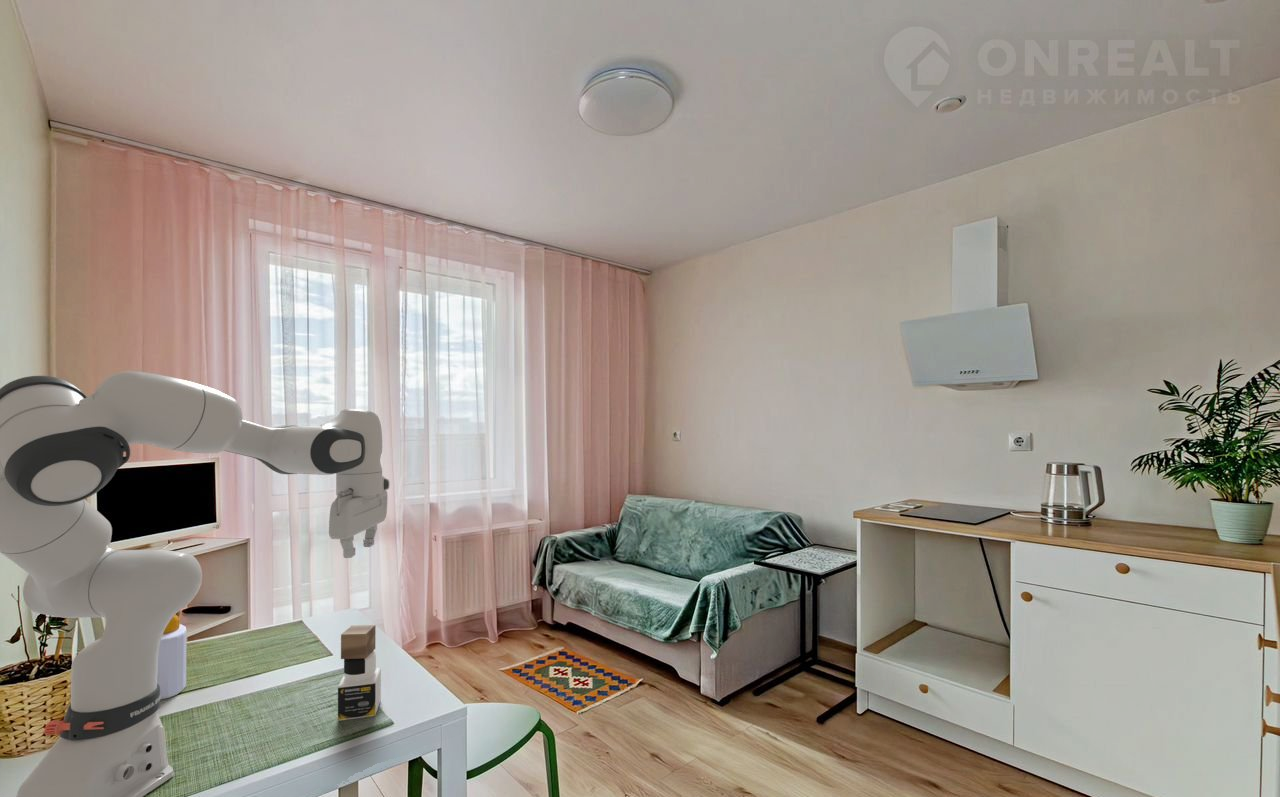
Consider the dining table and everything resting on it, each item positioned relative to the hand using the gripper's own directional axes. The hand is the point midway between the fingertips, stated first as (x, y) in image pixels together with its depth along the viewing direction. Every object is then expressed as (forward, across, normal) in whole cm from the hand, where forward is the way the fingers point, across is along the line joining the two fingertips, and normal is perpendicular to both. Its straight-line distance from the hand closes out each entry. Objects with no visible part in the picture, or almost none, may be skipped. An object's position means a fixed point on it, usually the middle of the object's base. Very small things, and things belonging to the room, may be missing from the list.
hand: (359, 551), depth 124 cm
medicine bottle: (+33, 0, 0) cm, 33 cm away
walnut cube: (+21, 0, 0) cm, 21 cm away
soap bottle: (+33, +12, +49) cm, 61 cm away
